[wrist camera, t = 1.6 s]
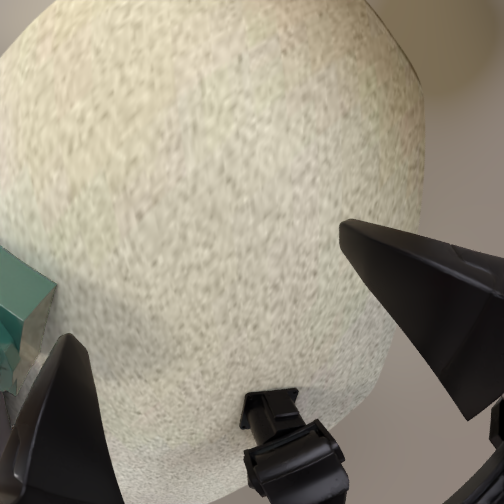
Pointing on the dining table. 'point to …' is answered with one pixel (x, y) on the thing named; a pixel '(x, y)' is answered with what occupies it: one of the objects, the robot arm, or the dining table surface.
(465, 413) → the robot arm
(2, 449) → the bluetooth speaker
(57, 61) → the dining table surface
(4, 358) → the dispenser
